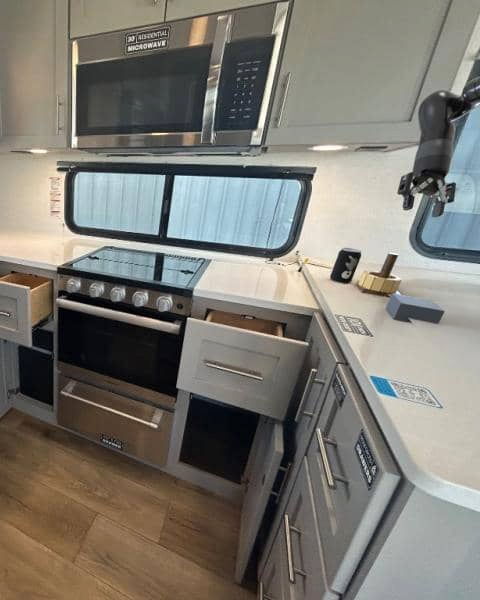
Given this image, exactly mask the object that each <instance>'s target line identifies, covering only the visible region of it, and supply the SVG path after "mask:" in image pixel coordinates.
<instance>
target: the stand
mask: <svg viewBox="0 0 480 600" xmlns="http://www.w3.org/2000/svg"><path fill="white" fill-rule="evenodd" d="M399 255H400V254H399V253H395V252H388V253H387V255H386V258H385V259H384V262H383V265H382V267H381V269H380V271H379V272H380V274H379V276H378V277H382V278H389V276H390V274H392V271H393V269H394V267H395V264H396V262H397V259H398V257H399ZM358 283H359V280H358V281H357V283H356V286H357V287H358V289H359V290H360V292H361V293H362V294H367V295H374V296H380V297H384V296H385V298H390V297H391V295H392V293H386V292H381V291H380V292H379V291H375V290H371V289H367V288H365V287H362V286H360V285H359V284H358ZM393 294H399V295H402V294H401V293H400V292H399V291H398V290H397V291H396V292H395V293H393Z"/></svg>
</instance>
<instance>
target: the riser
mask: <svg viewBox="0 0 480 600" xmlns="http://www.w3.org/2000/svg"><path fill="white" fill-rule="evenodd" d="M385 308H386V309H387V310H388V311H387V310H386V309H385V310H386V311H387V313H388V312H389V313H390V314H389V313H388V314H389V315H390V317H391V316H392V317H391V318H392V320H395V321H400V322H405V323H411V324H412V323H413V322H412V320H417V321H421V322H427V323H432V324H436V325H439V324H440V321H441V320H442V317H443V316H444V314H445V312H446V311H445V309H443V308H442V307H441V306H440V305H439V304H437V303H436V302H435V301H434V300H433V299H427V298H423V297H422V298H421V297H415V296H409V295H404V294H401V295H399V294H393V293H392V294H390V297H389V300H388V302H387V304H386V306H385Z"/></svg>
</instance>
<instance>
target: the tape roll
mask: <svg viewBox="0 0 480 600" xmlns="http://www.w3.org/2000/svg"><path fill="white" fill-rule="evenodd" d="M380 272H381V271H379V270H363V271H362V273H361V276H360V277H359V280H358V281H359V283H358V282H357V283H358V284H359V285H360V286H362V287H365V288H367V289H371V290H375V291H379V292H380V291H381V292H386V293H395V292H396V291H398V289H399V287H400V285H401V283H402V280H403V278H402V277H400V276H398V275H395V274H393V273H390V276H389V278H382V277H378V276H379V274H380Z"/></svg>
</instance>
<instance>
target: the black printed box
mask: <svg viewBox="0 0 480 600" xmlns="http://www.w3.org/2000/svg"><path fill="white" fill-rule="evenodd" d="M361 258H362V250H360V249H357V248H352V247H342V248H341V250H340V251H338V253H337V256H336V259H335V261H334V265H333V267H332V270H331V273H330V276H329V278H330V280H331V281H333V282H336V283H339V284H349V283H351V282H352V281H353V278H354V276H355V274H356V270H357V268H358V266H359V263H360V260H361Z"/></svg>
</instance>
